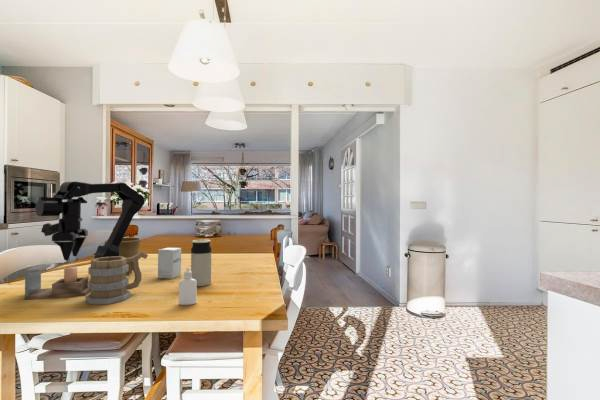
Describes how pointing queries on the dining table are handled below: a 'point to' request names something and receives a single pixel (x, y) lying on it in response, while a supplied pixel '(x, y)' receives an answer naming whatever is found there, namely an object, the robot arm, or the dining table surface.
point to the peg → (70, 275)
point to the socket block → (58, 287)
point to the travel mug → (201, 262)
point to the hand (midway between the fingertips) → (70, 258)
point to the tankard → (112, 278)
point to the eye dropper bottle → (187, 289)
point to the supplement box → (169, 262)
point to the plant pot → (129, 249)
